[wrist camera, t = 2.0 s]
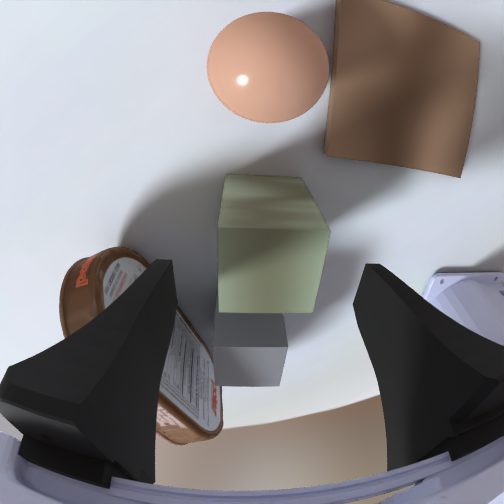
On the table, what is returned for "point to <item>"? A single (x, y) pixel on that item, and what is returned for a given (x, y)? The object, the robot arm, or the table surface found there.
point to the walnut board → (400, 88)
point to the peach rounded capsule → (268, 67)
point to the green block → (269, 245)
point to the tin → (179, 353)
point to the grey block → (248, 348)
